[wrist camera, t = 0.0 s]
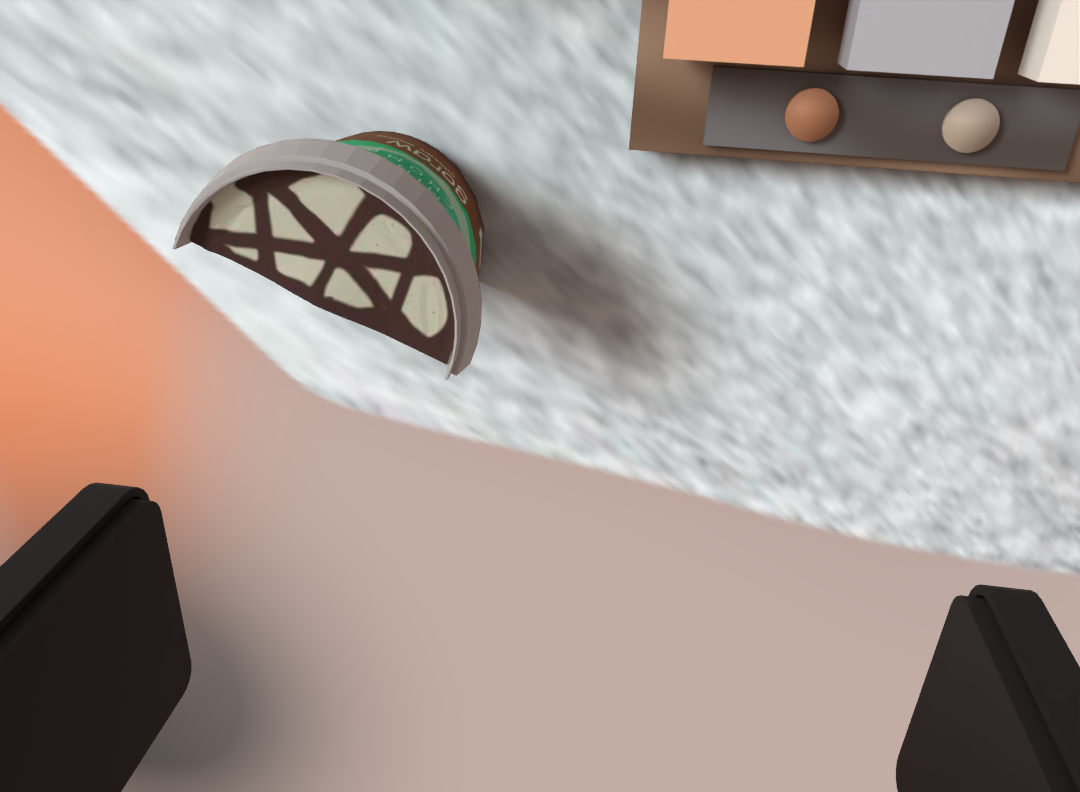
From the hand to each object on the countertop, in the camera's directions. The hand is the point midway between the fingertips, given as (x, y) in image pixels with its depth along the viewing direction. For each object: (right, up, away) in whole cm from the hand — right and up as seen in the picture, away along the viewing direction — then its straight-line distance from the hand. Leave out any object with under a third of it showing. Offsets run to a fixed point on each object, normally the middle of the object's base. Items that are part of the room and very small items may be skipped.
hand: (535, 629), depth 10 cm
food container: (-6, +13, +30) cm, 33 cm away
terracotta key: (+7, +18, +21) cm, 29 cm away
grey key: (+14, +17, +21) cm, 30 cm away
